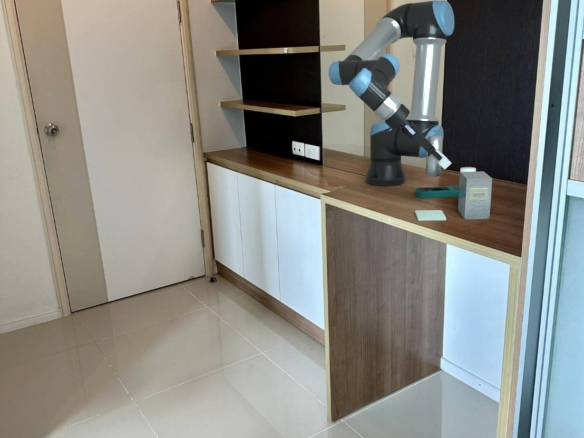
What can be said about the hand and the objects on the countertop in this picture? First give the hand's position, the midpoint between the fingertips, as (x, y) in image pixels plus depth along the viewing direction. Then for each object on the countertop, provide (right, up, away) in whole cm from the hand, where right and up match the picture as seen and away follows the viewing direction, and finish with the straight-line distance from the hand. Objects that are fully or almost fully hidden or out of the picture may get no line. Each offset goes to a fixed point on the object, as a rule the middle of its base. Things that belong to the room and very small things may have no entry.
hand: (446, 164), depth 165 cm
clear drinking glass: (-4, -3, +1) cm, 5 cm away
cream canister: (+8, -13, +6) cm, 16 cm away
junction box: (+7, -15, -4) cm, 17 cm away
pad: (-6, -16, -4) cm, 18 cm away
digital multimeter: (+3, -9, +20) cm, 22 cm away
